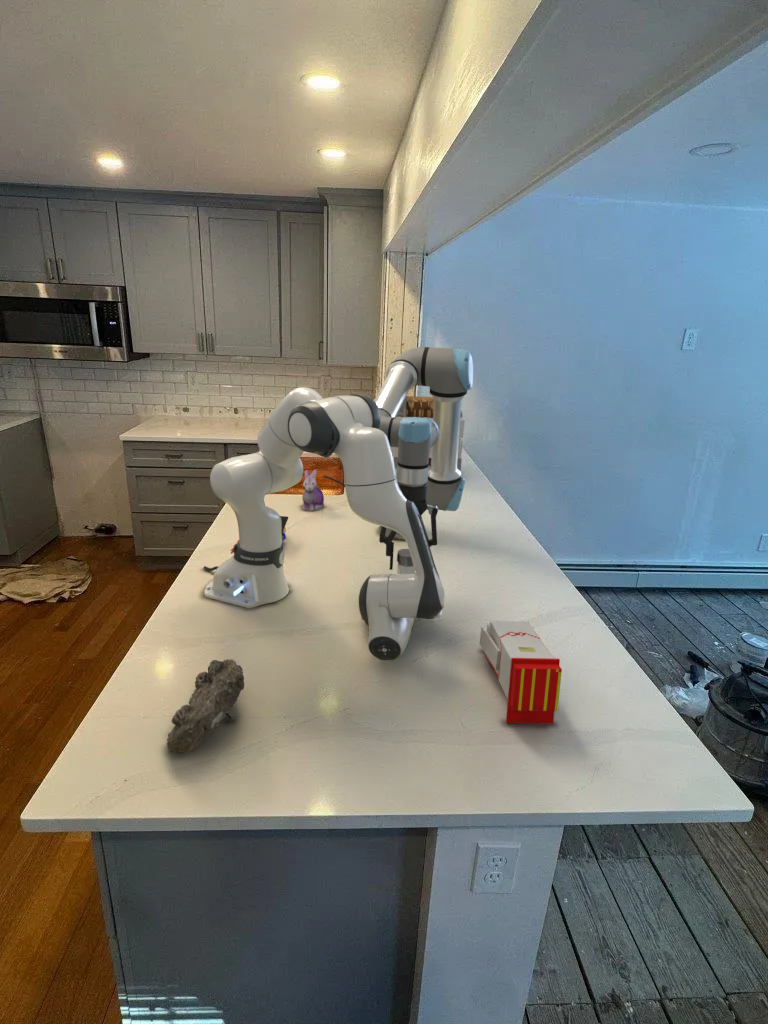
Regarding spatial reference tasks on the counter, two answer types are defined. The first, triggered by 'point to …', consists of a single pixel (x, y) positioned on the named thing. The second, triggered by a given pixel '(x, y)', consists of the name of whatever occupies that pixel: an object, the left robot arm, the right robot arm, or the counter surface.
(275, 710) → the counter surface
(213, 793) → the counter surface
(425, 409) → the grey tall slatted box
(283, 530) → the figurine character
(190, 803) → the counter surface
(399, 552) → the lid
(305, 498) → the figurine
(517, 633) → the toy
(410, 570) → the jar
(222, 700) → the fossil
